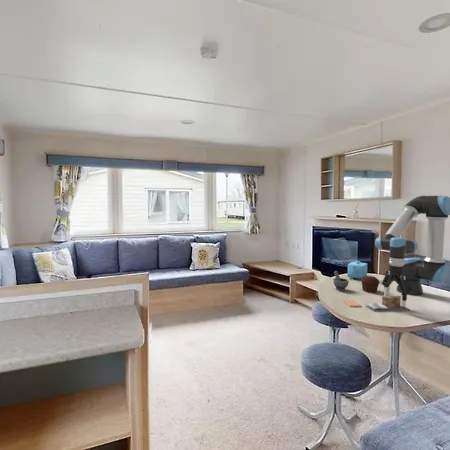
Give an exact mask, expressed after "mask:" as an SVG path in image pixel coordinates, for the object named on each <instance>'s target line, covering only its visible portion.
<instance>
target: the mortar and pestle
mask: <svg viewBox="0 0 450 450" xmlns="http://www.w3.org/2000/svg"><path fill="white" fill-rule="evenodd" d="M333 274H334V276H335V277H334V278H333V279H332V280H333V284H334V286H335V290H336V291H340V292H345V291H346V288H347V287H348V286H349V279H346V278H341V277H340V275H339V271H338V270H335V271H334V272H333Z"/></svg>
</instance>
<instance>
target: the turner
mask: <svg viewBox="0 0 450 450" xmlns="http://www.w3.org/2000/svg"><path fill="white" fill-rule="evenodd" d="M400 302H401V295H391V296H390V295H389V296H384V295H382V299H381V303H380V302H375V303H372V302H371V303H367V304H366V306H370V307H371V308H373V309H388V308H405V307H406V306H400Z"/></svg>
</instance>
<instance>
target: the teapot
mask: <svg viewBox="0 0 450 450" xmlns="http://www.w3.org/2000/svg"><path fill="white" fill-rule="evenodd" d="M365 276H368V263H366V262H361V261H360V260H355V261H351V262H350V263H348V264H347V278H349V279H350V280H354V279H357V280H358V281H361V279H362V278H363V277H365Z"/></svg>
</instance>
